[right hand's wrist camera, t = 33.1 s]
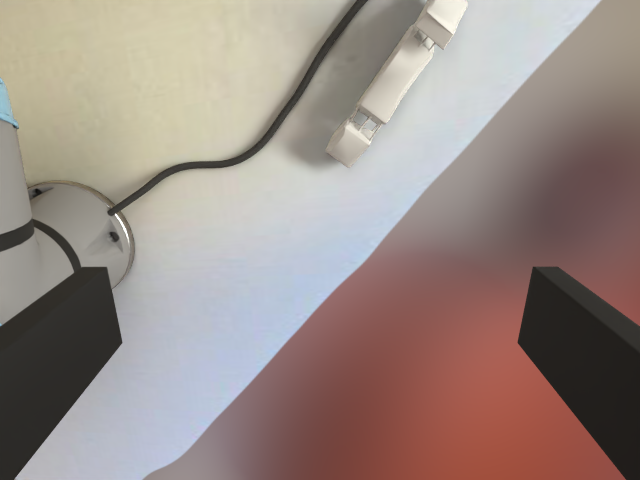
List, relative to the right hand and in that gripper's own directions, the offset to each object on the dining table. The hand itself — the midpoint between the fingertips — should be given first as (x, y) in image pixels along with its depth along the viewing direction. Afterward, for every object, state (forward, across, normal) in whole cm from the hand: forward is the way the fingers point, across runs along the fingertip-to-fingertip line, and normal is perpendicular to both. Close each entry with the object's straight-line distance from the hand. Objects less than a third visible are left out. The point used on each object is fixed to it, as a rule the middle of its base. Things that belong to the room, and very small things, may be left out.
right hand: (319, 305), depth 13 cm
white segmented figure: (+36, -8, -8) cm, 38 cm away
